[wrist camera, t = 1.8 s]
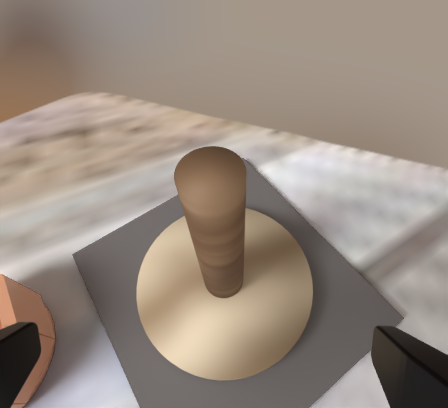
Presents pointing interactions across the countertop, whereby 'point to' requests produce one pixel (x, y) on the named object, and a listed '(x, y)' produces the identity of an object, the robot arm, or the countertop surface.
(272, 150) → the countertop surface
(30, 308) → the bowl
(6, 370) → the robot arm
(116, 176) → the countertop surface
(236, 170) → the disc with tall peg
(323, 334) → the mat
